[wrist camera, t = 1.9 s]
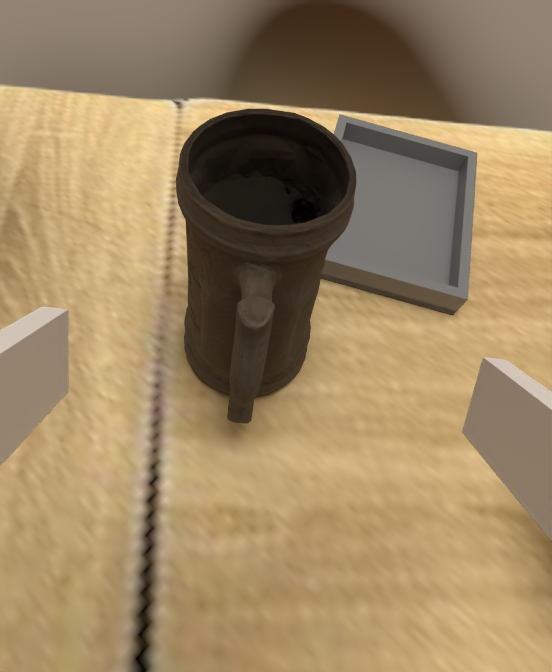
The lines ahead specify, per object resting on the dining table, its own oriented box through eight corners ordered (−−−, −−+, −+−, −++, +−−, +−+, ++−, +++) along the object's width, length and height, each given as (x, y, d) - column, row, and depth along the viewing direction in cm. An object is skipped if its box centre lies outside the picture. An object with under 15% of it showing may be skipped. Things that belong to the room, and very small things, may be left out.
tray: (295, 271, 46) (300, 252, 44) (333, 136, 55) (339, 114, 53) (452, 315, 46) (467, 299, 44) (464, 172, 55) (477, 152, 53)
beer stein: (183, 286, 44) (164, 93, 26) (296, 284, 46) (350, 101, 28) (187, 452, 37) (166, 344, 20) (319, 441, 39) (410, 333, 21)
